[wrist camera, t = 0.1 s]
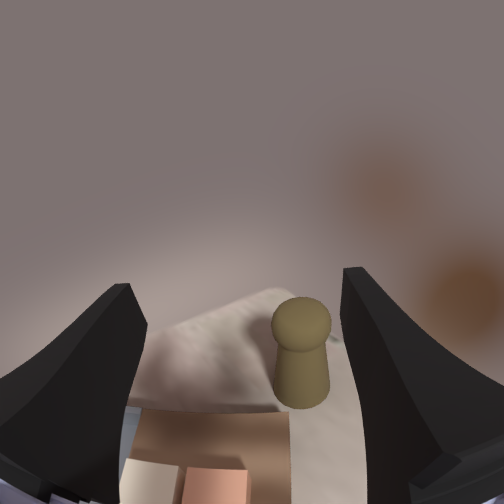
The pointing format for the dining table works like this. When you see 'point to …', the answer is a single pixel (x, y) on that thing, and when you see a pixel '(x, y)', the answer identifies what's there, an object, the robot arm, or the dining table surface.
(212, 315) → the dining table surface
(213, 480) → the terracotta tile
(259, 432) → the tan slab
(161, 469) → the cream tile
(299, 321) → the cork
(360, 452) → the dining table surface
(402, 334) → the robot arm
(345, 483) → the dining table surface
